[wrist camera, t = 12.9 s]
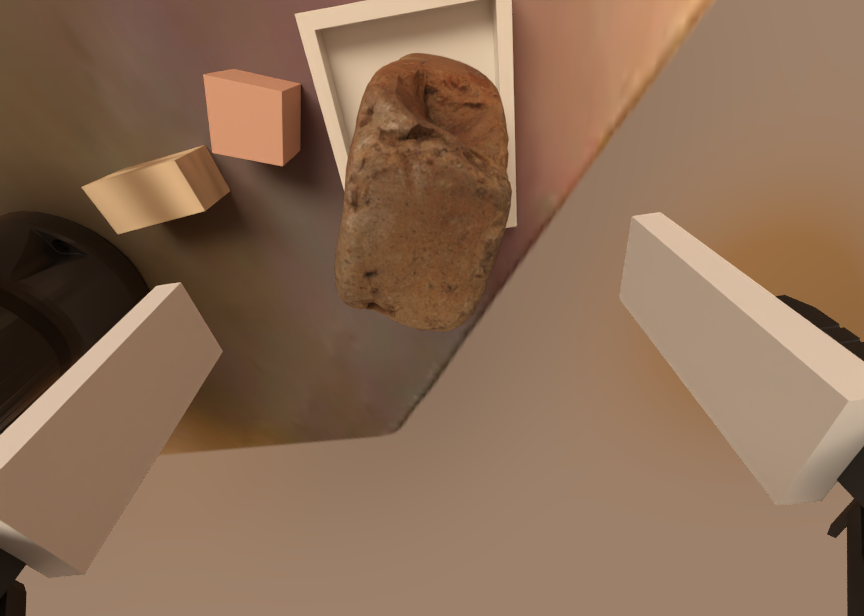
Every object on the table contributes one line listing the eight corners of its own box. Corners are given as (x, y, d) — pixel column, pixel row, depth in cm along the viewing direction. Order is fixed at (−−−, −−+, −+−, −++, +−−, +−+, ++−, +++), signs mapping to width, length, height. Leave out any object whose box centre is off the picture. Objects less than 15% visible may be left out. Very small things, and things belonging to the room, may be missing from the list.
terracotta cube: (239, 137, 32) (212, 152, 28) (234, 68, 30) (203, 74, 26) (300, 150, 33) (283, 166, 29) (301, 83, 30) (281, 91, 26)
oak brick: (152, 211, 36) (117, 234, 32) (123, 168, 34) (81, 187, 30) (231, 190, 35) (205, 210, 31) (205, 144, 33) (174, 160, 29)
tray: (364, 234, 37) (360, 248, 35) (306, 15, 28) (294, 14, 25) (510, 213, 36) (516, 226, 34) (503, -22, 27) (511, -27, 24)
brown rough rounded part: (448, 205, 35) (469, 357, 19) (365, 184, 34) (309, 325, 17) (490, 69, 29) (576, 113, 13) (391, 36, 28) (342, 39, 11)
